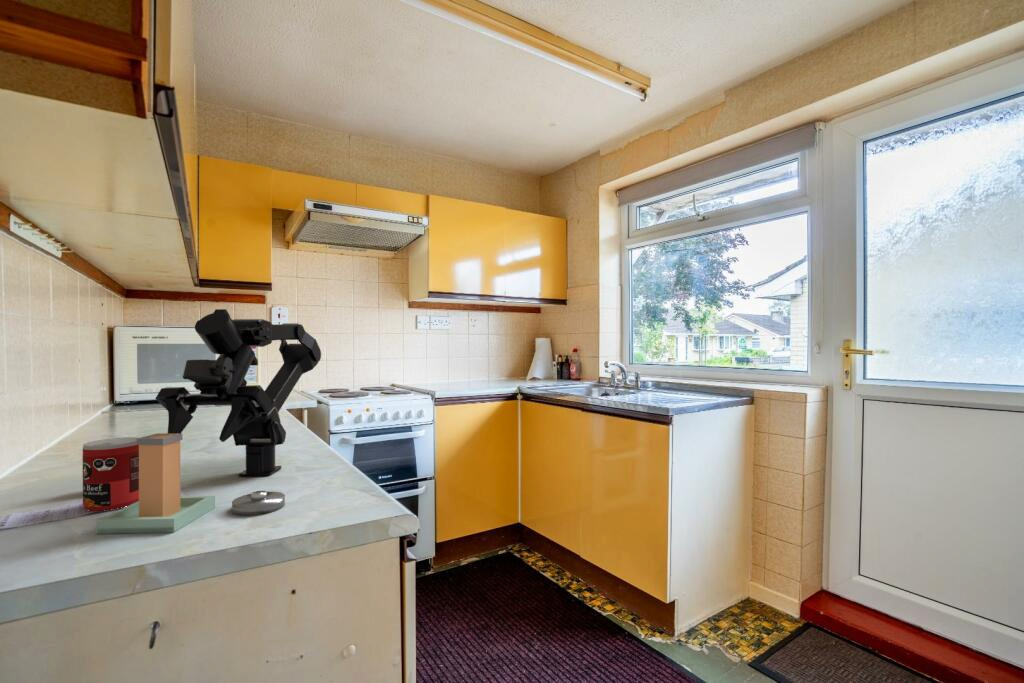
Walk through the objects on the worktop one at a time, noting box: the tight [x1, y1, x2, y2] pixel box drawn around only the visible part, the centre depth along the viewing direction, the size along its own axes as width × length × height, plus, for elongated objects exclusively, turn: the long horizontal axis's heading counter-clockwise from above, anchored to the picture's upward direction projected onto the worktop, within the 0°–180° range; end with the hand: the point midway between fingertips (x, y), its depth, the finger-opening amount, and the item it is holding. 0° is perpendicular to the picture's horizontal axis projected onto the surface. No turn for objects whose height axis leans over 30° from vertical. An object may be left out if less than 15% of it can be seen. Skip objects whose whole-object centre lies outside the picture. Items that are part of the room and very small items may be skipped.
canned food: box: [82, 436, 139, 512], centre depth 85 cm, size 8×8×11 cm
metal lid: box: [231, 490, 286, 517], centre depth 83 cm, size 8×8×2 cm
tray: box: [96, 495, 216, 535], centre depth 78 cm, size 11×11×2 cm
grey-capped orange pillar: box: [137, 432, 183, 517], centre depth 78 cm, size 4×4×12 cm
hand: (195, 441), depth 85 cm, fingers open, 9 cm apart
